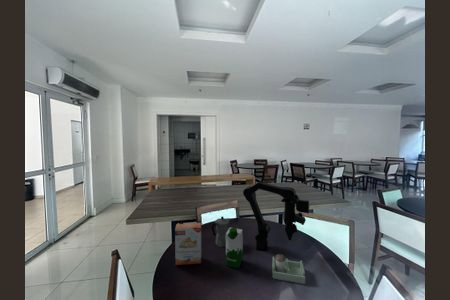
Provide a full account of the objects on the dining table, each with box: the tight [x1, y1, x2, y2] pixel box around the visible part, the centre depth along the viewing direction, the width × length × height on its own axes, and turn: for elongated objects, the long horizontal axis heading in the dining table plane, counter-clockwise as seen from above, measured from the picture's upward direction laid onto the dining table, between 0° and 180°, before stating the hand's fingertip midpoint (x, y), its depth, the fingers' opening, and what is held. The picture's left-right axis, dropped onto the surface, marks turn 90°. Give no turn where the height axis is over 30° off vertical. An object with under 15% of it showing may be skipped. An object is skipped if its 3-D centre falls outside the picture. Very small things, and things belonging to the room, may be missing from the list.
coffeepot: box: [210, 216, 231, 248], centre depth 119 cm, size 15×9×18 cm, turn 129°
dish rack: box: [271, 256, 306, 285], centre depth 93 cm, size 15×11×5 cm
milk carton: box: [225, 227, 244, 269], centre depth 101 cm, size 9×9×20 cm
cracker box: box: [174, 222, 202, 266], centre depth 102 cm, size 14×6×21 cm, turn 97°
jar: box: [275, 253, 286, 273], centre depth 94 cm, size 5×5×7 cm
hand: (289, 235), depth 107 cm, fingers open, 9 cm apart
